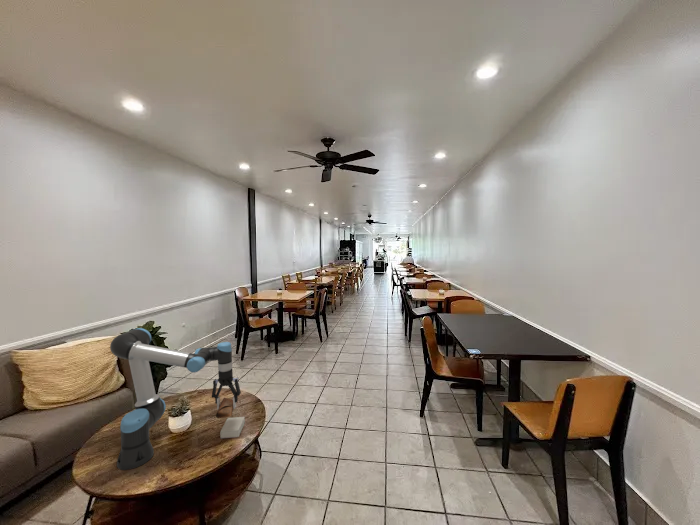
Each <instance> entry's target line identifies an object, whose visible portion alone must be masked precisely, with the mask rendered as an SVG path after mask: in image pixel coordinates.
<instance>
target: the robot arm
mask: <svg viewBox="0 0 700 525" xmlns="http://www.w3.org/2000/svg"><path fill="white" fill-rule="evenodd" d="M151 334H152V333H150V331H149V330H147V329H145V328H142V327H139V328H133V329H131V330H129V331H126V332H123V333H121V334H118V335H117V336H115V337H114V338H113V339H112V341H111V342H110V345H109V347H110V352H111V353H112V354H113V355H114V356H115V357H117V358H119V359H123V360H128V364H129V368H130V374H131V378H132V381H133V382H132V383H133V387H134V391H135V396H136V402H135V403H134V408H135V409H132V411H130V412H129V411H128V413H126V414H125V415H124V416H123V417H122V419H121V421H120V427H119V428H120V445H121V446H120V452H119V454H118V457H117V459H116V467H117V469H118V470H124V471H127V470H131V469H135V468H137V467H140V466H142V465H144V464H146V463H148V462H149V461H150V460H151V459H152V457H154V452H155V451H154V447H153V445H152V442H151V440H150V429H151V428H152V427H153V426H154V425H155V424H157V422H158V421H159V420H160V419H161V418H162V417H163V415H164V414H165V412H166V407H167V406H166V402H165V400H164V399H162V398H161V397H160V395H159V394H156V390H155V385H154V380H153V375H152V370H151V365H150V362H154V363H158V364H162V365H163V364H164V365H169V366H174V367H180V368H186V369H187V371H188V372H190V373H198V372H199V371H201V370H202V369H203V368H204V367H205V366H206V365H207V364H208V363H209V362H213V361H217V367H218V369H217V370H218V375H217V376H218V379H216V378H215V379H214V380H213V381H212V386H213V387H212V392H211V398H213V399H215V400H214V402H215V404H216V408H217V411H218V409H219V406H220V404H221V396H220V394H221V391H222V389H223V387H227V388H229V389H230V392H231V393H232V395H233V397H232V400H233V410H235V409H236V408H237V403H238V396H240V395H241V394H242V392H241V389H240V383H239V377H234V376H233V375H234V373H233V348H232V343H231V342H229V341H223V342H222V341H221V342H220V343H217V346H214V347H213V346H212V347H211V346H210V347H209V346H208V347H199V348H197V349H195V351H194V353H193V352H186V351H183V350H182V351H181V350H179V349H178V350H177V349H170V348H166V347H161V346H156V345H151V342H152V335H151ZM218 383H219V387H218ZM217 387H218V389H217Z"/></svg>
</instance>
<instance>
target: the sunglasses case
mask: <svg viewBox="0 0 700 525" xmlns="http://www.w3.org/2000/svg"><path fill="white" fill-rule="evenodd" d="M233 411H234V409H233V399H230V398H226V397H223V399H222V400H221V401H220V406H219V409H218V410H217V412H216V415H215V416H216V418H217V419H225V418H231V417H232V416H233Z"/></svg>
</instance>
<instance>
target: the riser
mask: <svg viewBox="0 0 700 525" xmlns="http://www.w3.org/2000/svg"><path fill="white" fill-rule="evenodd" d="M245 418H246V417H245V416H239V417H238V416H236V417H227V419H226V421H225V422H224V424H223V426H222V428H221V429H220V439H229V438H230V439H231V438H239V437H240V435H241V433H242V430H243V427H244V425H245V422H246V421H245Z"/></svg>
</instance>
